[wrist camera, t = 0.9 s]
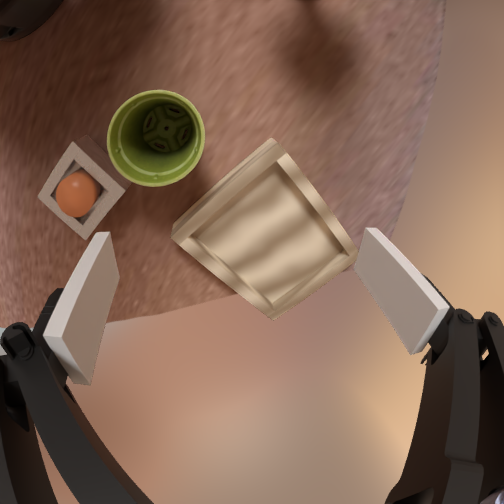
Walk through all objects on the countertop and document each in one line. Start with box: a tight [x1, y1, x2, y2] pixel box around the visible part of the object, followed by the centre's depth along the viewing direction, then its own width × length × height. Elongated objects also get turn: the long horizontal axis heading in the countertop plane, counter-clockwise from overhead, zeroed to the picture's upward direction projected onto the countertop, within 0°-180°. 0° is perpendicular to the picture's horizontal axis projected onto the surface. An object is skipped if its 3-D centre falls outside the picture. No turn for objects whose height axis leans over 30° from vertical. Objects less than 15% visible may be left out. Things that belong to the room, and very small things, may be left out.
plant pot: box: [107, 90, 205, 187], centre depth 27 cm, size 9×9×9 cm
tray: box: [170, 138, 359, 321], centre depth 38 cm, size 21×17×4 cm
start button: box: [56, 169, 100, 217], centre depth 28 cm, size 5×5×3 cm
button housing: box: [38, 135, 132, 240], centre depth 30 cm, size 9×9×4 cm
